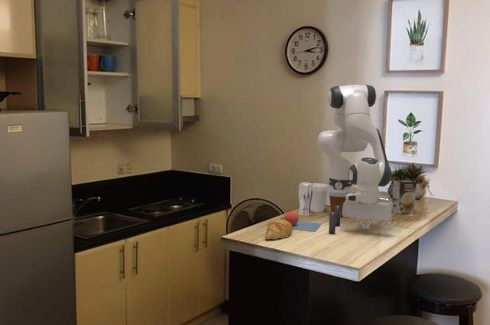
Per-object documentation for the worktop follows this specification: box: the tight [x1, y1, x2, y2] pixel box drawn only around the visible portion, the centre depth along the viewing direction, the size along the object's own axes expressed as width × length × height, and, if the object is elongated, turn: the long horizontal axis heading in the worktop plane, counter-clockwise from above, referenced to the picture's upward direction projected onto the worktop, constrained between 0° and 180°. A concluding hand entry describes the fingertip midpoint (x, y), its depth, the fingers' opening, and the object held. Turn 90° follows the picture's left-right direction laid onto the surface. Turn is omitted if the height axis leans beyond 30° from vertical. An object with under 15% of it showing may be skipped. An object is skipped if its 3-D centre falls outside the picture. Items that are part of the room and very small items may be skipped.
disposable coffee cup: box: [329, 189, 348, 218], centre depth 245 cm, size 10×10×12 cm
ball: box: [285, 211, 299, 225], centre depth 225 cm, size 6×6×6 cm
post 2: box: [335, 205, 342, 228], centre depth 226 cm, size 3×3×9 cm
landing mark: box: [292, 220, 322, 233], centre depth 225 cm, size 14×14×1 cm
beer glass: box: [298, 181, 314, 217], centre depth 246 cm, size 7×7×15 cm
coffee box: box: [391, 179, 417, 215], centre depth 254 cm, size 9×6×16 cm
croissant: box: [264, 218, 293, 240], centre depth 210 cm, size 21×10×8 cm, turn 150°
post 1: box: [328, 211, 336, 235], centre depth 214 cm, size 3×3×9 cm
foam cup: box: [311, 182, 329, 213], centre depth 254 cm, size 10×9×13 cm
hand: (365, 229), depth 216 cm, fingers closed
